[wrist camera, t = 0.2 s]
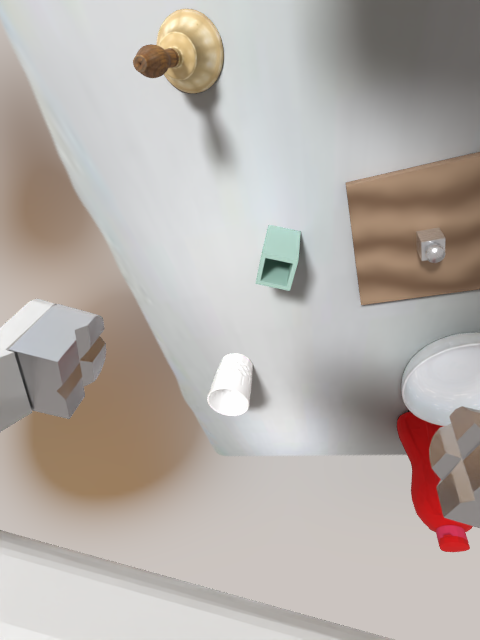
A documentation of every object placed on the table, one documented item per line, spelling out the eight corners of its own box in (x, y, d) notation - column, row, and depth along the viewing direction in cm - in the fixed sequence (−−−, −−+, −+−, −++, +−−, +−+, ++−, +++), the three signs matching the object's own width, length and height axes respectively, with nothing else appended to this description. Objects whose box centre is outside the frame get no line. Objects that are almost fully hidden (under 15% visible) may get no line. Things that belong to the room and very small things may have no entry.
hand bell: (157, 87, 48) (102, 110, 36) (156, 3, 43) (91, -4, 31) (220, 98, 48) (186, 125, 35) (227, 15, 42) (190, 13, 30)
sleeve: (268, 224, 57) (261, 253, 50) (300, 231, 57) (298, 260, 50) (262, 253, 60) (255, 283, 53) (293, 259, 60) (289, 290, 53)
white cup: (235, 382, 81) (227, 420, 73) (210, 360, 78) (198, 398, 70) (263, 368, 77) (257, 407, 69) (238, 344, 74) (229, 382, 66)
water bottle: (412, 442, 84) (440, 568, 64) (390, 413, 79) (413, 540, 60) (455, 431, 79) (500, 563, 60) (435, 400, 75) (476, 533, 55)
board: (345, 182, 52) (346, 186, 50) (514, 143, 46) (519, 146, 44) (360, 299, 63) (361, 305, 62) (497, 280, 57) (501, 286, 56)
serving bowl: (380, 388, 75) (384, 416, 70) (422, 306, 62) (432, 332, 57) (486, 408, 74) (499, 438, 69) (552, 328, 61) (575, 358, 55)
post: (416, 231, 53) (423, 247, 49) (439, 227, 52) (448, 243, 48) (416, 249, 54) (424, 266, 51) (438, 246, 53) (448, 263, 50)
